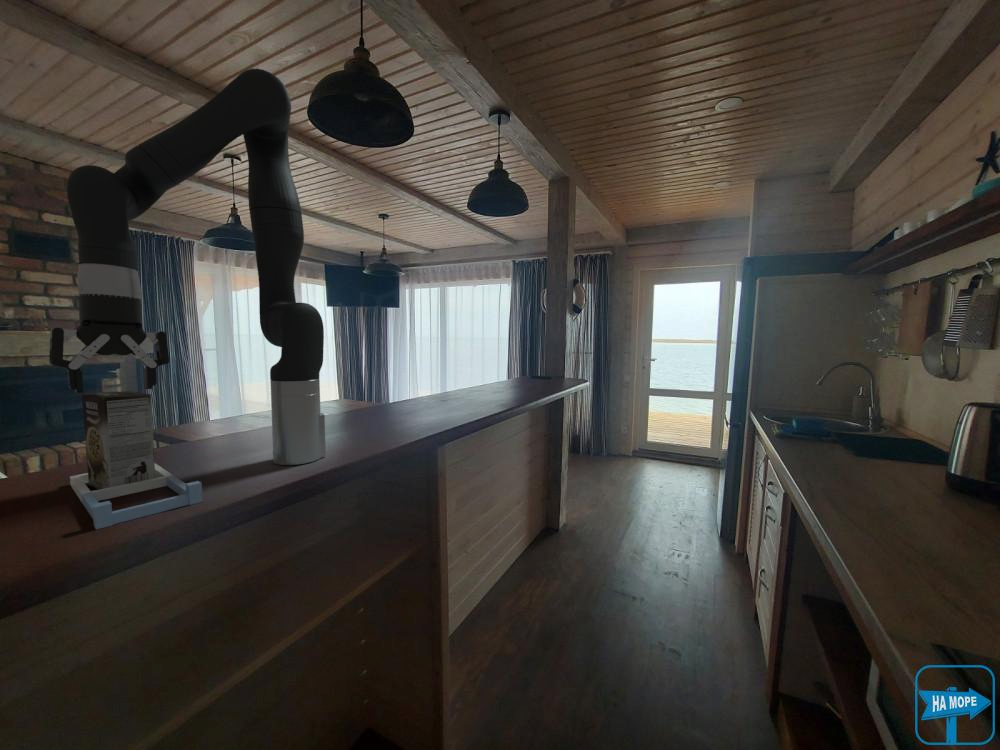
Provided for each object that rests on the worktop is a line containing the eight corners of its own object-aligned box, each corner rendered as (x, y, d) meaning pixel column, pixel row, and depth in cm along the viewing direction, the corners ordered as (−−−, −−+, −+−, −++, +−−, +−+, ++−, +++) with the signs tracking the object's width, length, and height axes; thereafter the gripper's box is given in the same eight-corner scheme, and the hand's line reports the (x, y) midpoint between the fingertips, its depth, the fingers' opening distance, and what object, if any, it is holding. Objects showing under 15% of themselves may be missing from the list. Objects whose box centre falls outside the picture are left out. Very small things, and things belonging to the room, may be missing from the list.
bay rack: (154, 468, 77) (154, 453, 76) (202, 501, 60) (201, 482, 60) (67, 485, 67) (66, 468, 67) (95, 529, 51) (94, 507, 51)
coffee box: (86, 486, 67) (79, 393, 66) (134, 475, 73) (129, 389, 72) (108, 495, 63) (101, 396, 62) (157, 483, 68) (152, 392, 67)
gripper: (159, 301, 73) (162, 386, 74) (43, 291, 62) (49, 392, 63) (171, 298, 69) (174, 389, 70) (49, 287, 57) (54, 395, 58)
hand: (115, 390), depth 66 cm, fingers open, 8 cm apart
